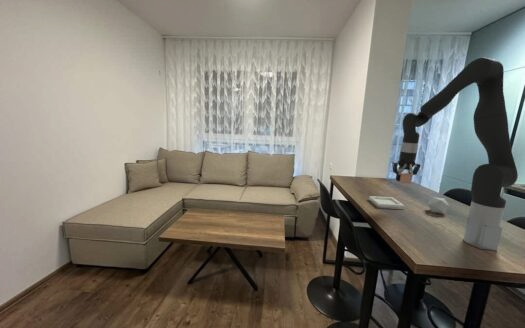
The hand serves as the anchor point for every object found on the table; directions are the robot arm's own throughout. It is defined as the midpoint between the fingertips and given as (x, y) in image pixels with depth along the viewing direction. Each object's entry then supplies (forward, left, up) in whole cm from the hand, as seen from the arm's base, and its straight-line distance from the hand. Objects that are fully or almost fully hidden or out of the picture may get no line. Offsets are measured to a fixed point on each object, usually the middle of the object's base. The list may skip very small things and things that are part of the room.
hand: (403, 181), depth 121 cm
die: (-1, -20, -17) cm, 26 cm away
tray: (+7, +4, -17) cm, 19 cm away
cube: (0, 0, 0) cm, 0 cm away
